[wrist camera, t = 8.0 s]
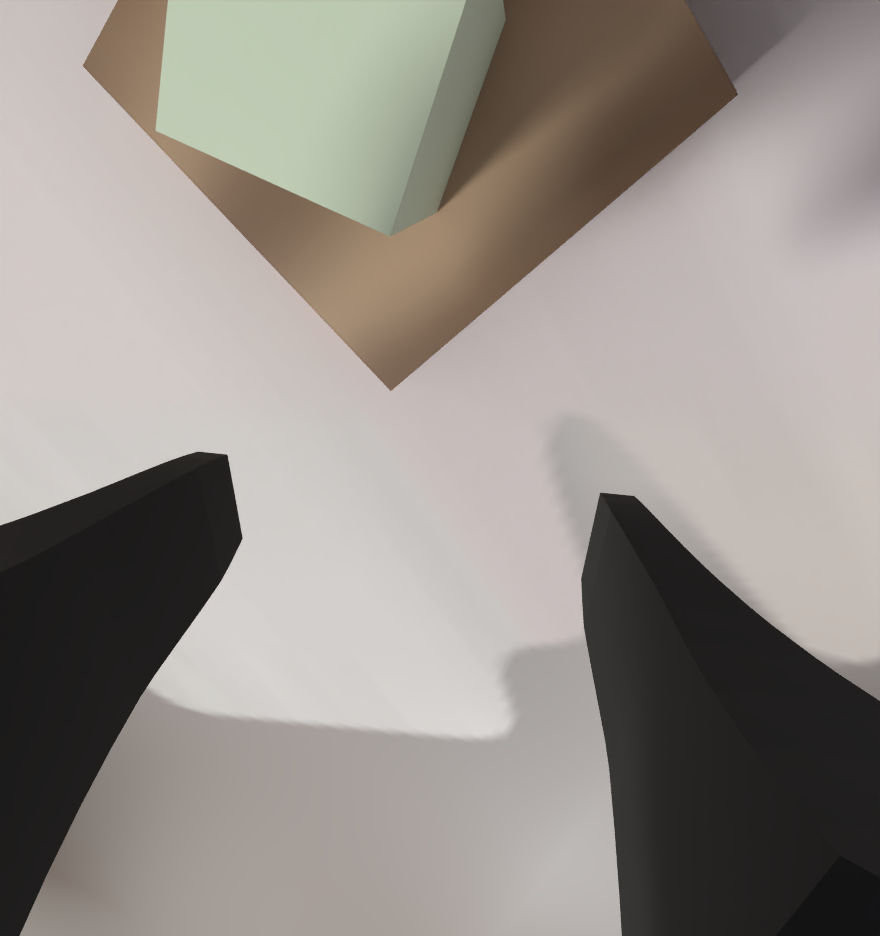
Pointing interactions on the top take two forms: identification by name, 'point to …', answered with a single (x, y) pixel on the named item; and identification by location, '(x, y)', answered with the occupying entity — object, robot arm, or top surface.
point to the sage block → (331, 95)
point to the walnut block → (463, 166)
